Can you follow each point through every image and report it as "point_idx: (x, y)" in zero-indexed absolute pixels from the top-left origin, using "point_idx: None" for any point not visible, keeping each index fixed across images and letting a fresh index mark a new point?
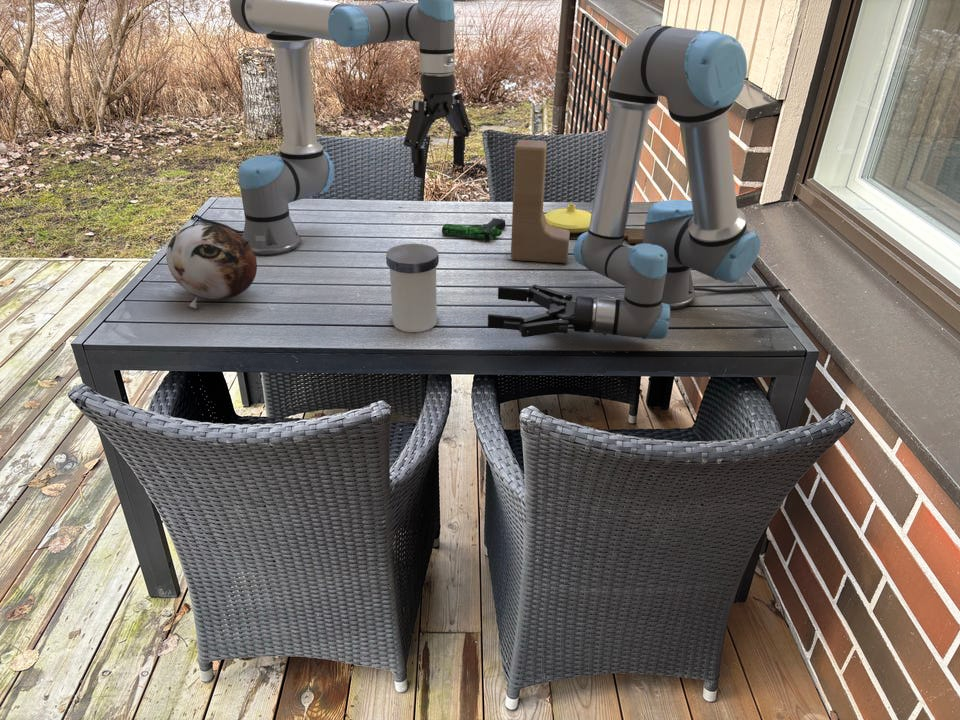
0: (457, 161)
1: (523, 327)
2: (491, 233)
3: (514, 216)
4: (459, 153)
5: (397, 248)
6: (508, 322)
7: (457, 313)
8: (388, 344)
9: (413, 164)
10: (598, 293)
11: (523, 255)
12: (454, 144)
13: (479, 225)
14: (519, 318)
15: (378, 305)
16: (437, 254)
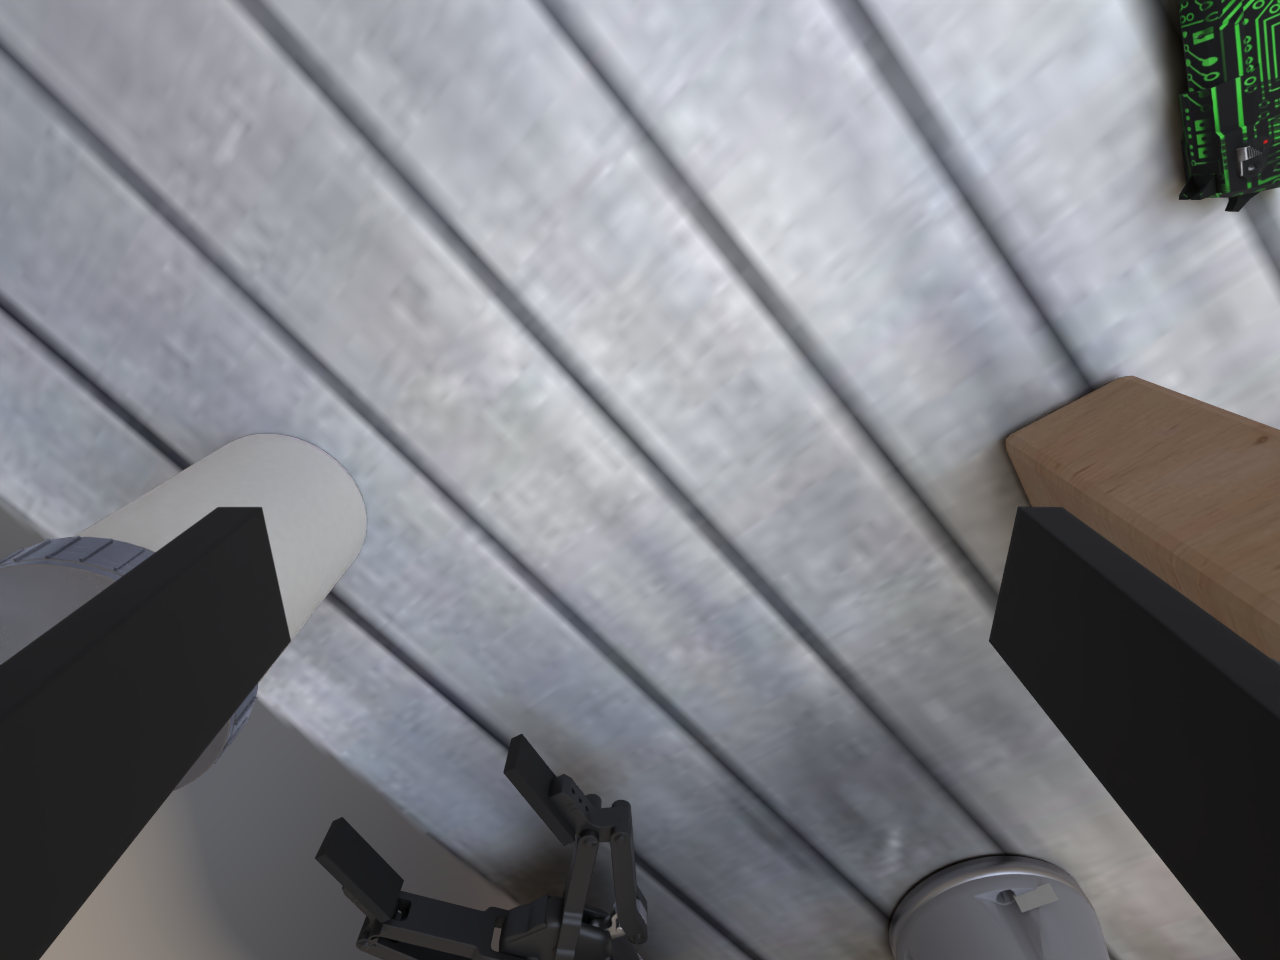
0: (1027, 598)
1: (357, 944)
2: (1233, 195)
3: (1143, 542)
4: (1088, 712)
5: (42, 595)
6: (352, 897)
7: (448, 577)
8: None
9: (108, 588)
10: (898, 805)
11: (1032, 495)
12: (1226, 706)
13: None
14: (382, 922)
15: (247, 305)
16: (191, 779)
